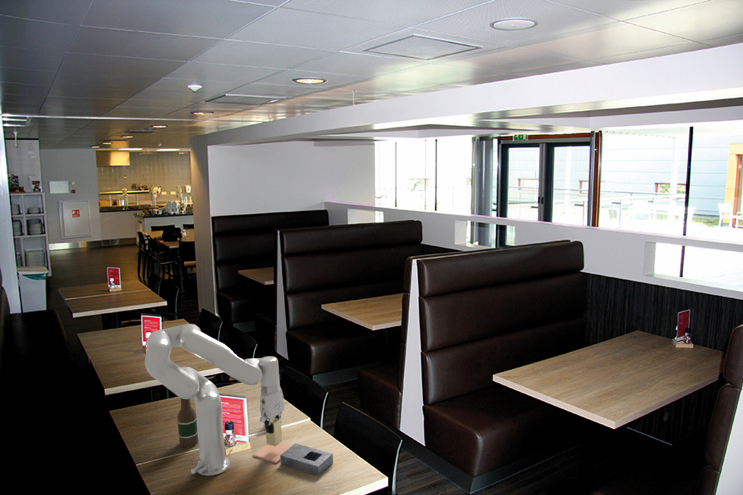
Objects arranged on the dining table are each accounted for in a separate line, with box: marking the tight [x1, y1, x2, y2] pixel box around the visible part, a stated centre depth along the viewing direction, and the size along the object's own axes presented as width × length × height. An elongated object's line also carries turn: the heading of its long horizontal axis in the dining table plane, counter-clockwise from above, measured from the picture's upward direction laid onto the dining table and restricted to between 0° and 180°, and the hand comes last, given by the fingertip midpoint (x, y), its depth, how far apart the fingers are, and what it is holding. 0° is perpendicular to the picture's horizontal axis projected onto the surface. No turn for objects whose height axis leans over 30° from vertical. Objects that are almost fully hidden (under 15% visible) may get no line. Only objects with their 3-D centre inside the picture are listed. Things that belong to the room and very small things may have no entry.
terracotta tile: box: [252, 442, 293, 464], centre depth 220 cm, size 12×12×1 cm
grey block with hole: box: [280, 443, 334, 477], centre depth 211 cm, size 10×18×4 cm, turn 61°
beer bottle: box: [177, 398, 199, 448], centre depth 228 cm, size 8×8×24 cm
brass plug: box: [264, 417, 283, 447], centre depth 219 cm, size 4×4×10 cm
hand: (273, 429), depth 219 cm, fingers closed on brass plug, 4 cm apart
